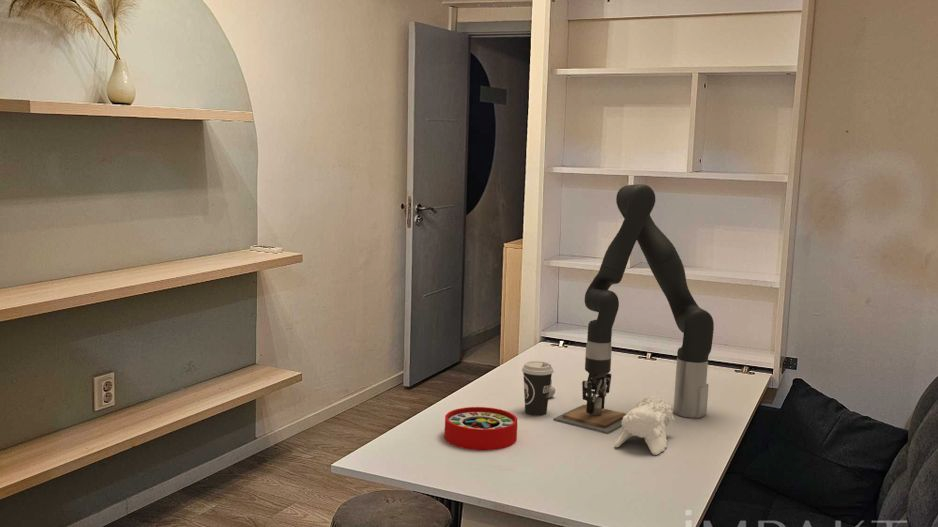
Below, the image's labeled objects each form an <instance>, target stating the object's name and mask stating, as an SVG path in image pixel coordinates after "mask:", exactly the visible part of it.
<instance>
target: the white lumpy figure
mask: <svg viewBox="0 0 938 527" xmlns="http://www.w3.org/2000/svg"><path fill="white" fill-rule="evenodd" d="M625 414H626V415H625V416H623V419H622V424H621V425H622V427H621V428H623V429H622V432H621V434H620V435H619V437H618V439H617V440H616V442H615V443H614V447H615V448H620V446H621V445H622V444H624V443H625V442H626V441H627V440H628V439H631V437H632V436H634V437H637V438H644V441H645V443H646V445H647V447H648V448H649V451H650V453H651V455H654V456H656V455H660V453H662V452H664V451H666V450H665V449H666V448H667V443H668V440H667V433H666V430H667V427H668V426H669V425H671V423H673V422H674V421H675V418H674V416H673V410H672V406H671V405H670V404H668V402H667V401H666V400H664V399H663V398H662V397H656V396H655V395H651V396H650V395H649V396H648V395H646V396H645V397H643V399H642V400H641V401H639V402H638V403H637V404H636V407H634V408H632V409H631V410H629V411H628V413H625Z"/></svg>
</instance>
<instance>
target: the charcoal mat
mask: <svg viewBox="0 0 938 527" xmlns="http://www.w3.org/2000/svg"><path fill="white" fill-rule="evenodd" d="M583 405H584V404H582V405H580V406H577V407H575V408H573V409H571V410H569V411H566V412H564V413H562V414H560V415H557V416H556V417H553V419H552V420H553V421H555V422H559V423H562V424H567V425H571V426H575V427H579V428H583V429H586V430H590V431H594V432H598V433H602V434H607V435H608V434H611V433H613V432H614V431H616V430H618V429H620V428H623V427H622V425H621V424H622V420H621V421H619V422H617V423H615V424H613V425H611V426H609V427H607V428H605V429H604V428H600V427H596V426H592V425H588V424H584V423H580V422H576V421H572V420H568V419H564V418H563V415H564V414H566V413H568V412H570V411H572V410H575V409H577V408H579V407H581V406H583Z"/></svg>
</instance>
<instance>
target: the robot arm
mask: <svg viewBox="0 0 938 527" xmlns="http://www.w3.org/2000/svg"><path fill="white" fill-rule="evenodd" d="M615 200H616V201H615V202H616V206H617V209H618V211H619V213H620V214H621V216H622V217H623V218H624V219H623V222H622V224H621V226H620V228H619V230H618V232H617V233H616V235H615V237H614V238H613V239H612V241H611V242H610V244H609V245H608V247H607V250H606V251H605V253H604V256H603V259H602V262H601V264H600V268H599V271H598V272H597V274H596V275H595V277H594V278H593V280H592V281H591V282H590V284H589V286H588V287H587V289H586V291H585V295H584V304H585V307H586V309H587V310H590V311H592V312H595V313H598V314H597V319H593V320H590V321H589V322H588V326H587V338H586V339H587V340H586V345H585V346H586V347H585V360H584V361H585V362H584V370H585V372H587V373H588V376H587V380H582V383H581V385H582V390H581V391H582V400H583V401H586V404H587V408H586V412H587V413H589V414H593V413H594V404H595V402H594V401H595V397H601V398H602V408H601V409H605V403H606V402H605V399H606V397H607V394H610V388H611V381H612V373H610V372H611V367H612V351H613V350H612V335H613V326H614V324H615V320H616V318H617V313H618V312H619V307H620V302H619V296H618V295H617V293H615V292H614V291H612V290H609V289H610V288H611V287H612V286H613V285H616V284H619V283H621V281H622V279H623V277H624V274H625V271H626V268H627V266H628V262H629V260H630V257H631V254H632V252H633V249H634V247H635V245H636V242H637V244H638V245H639V248H640V250H641V252H642V253H643V256H644V259H645V260H646V262H647V265H648V267H649V269H650V271H651V272H652V275H653V276H654V278H655V280H656V282H657V285H658V286H659V287H660V289H661V291H662V293H663V294H664V296H665V298H666V300H667V301H668V305H669V307H670V310H671V313H672V315H673V319H674V320H675V323H676V326H677V328H678V329H679V331H681V333H682V335H683V337H682V344H681V347H678V349H677V353H676V368H675V369H676V370H675V381H674V395H673V396H674V397H673V408H672V409H673V410H672V413H674V414H675V415H677V416H679V417H683V418H693V419H695V418H696V419H701V418H703V417H704V416H706V415H707V413H708V412H707V411H708V402H709V400H708V398H709V386H710V385H709V384H708V383H707V380H708V379H707V378H708V366H709V355H710V354H711V352H712V346H713V339H714V328H715V325H714V324H715V323H714V318H713V316H712V315H711V313H710V312H708V311H707V310H705V309H704V308H701V307H700V306H699V305H698V304H697V302H696V300H695V299H694V297H693V295H692V293H691V291H690V289H689V287H688V283H687V278H686V270H685V267H684V264H683V261H682V259H681V257H680V255H679V253H678V251H677V249H676V247H675V245H674V244H673V243H672V241H671V240H670V239H669V238H668V237H667V236H666V235H665V234H664V232H663V231H661V229H659V227H658V226H657V225H656V223H655V221H654V220H653V219H652V216H651V213H652V212H653V209H654V208H655V206H656V205H655V204H656V194H655V191H654V189H653V188H652V187H651V186H650V185H647V184H644V183H638V184H637V183H635V184H628V185H624V186H622V187H621V188H619V189H618V191H617V193H616V198H615Z"/></svg>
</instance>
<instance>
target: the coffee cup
mask: <svg viewBox="0 0 938 527" xmlns="http://www.w3.org/2000/svg"><path fill="white" fill-rule="evenodd" d="M521 371H522V373H523V387H524V388H523V389H524V390H523V391H524V392H523V394H524V412H525V414H527V415H529V416H535V417H536V416H544V415H546V414H547V412H548V405H549V404H548V403H549V390H550V383H551V380H552V375H553V373H554V368H553V367H552V364H551V363H550V362H548V361H541V360H540V361H539V360H531V361H529V360H528V361H526V362H525V363H524V365H523V366H522V368H521Z"/></svg>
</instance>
